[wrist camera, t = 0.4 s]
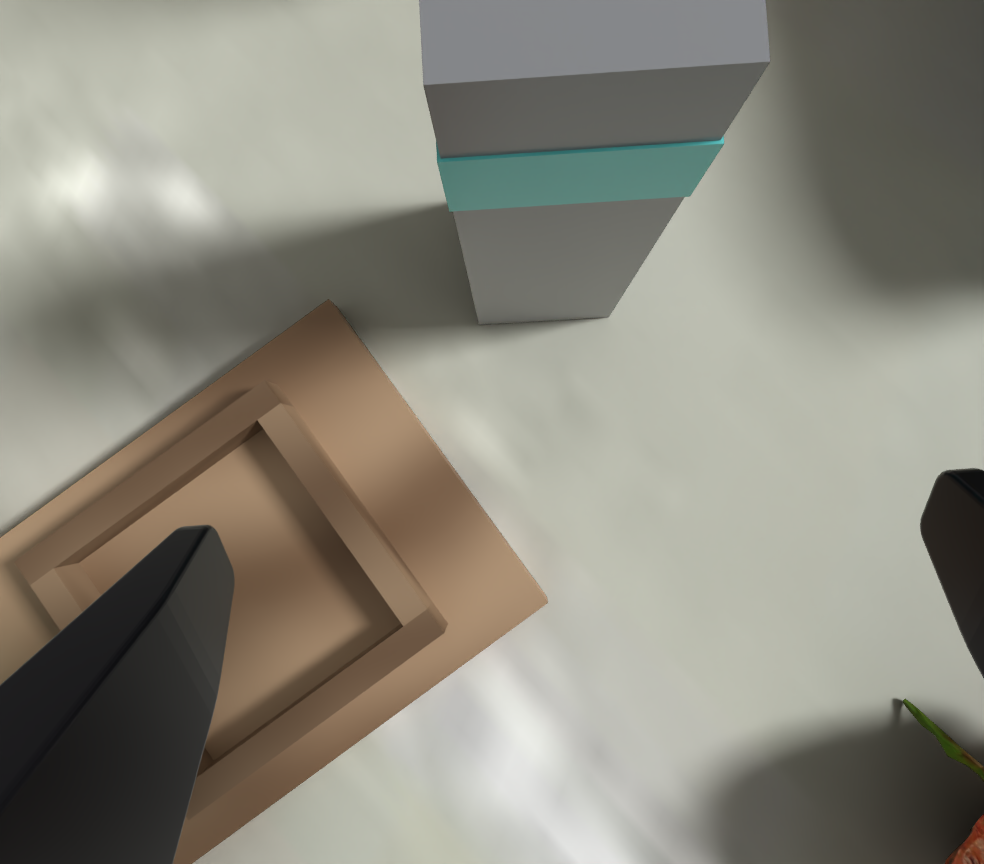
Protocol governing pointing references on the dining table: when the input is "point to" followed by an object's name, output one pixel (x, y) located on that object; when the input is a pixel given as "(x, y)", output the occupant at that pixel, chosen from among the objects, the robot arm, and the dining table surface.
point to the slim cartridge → (577, 135)
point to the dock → (285, 560)
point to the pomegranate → (980, 856)
